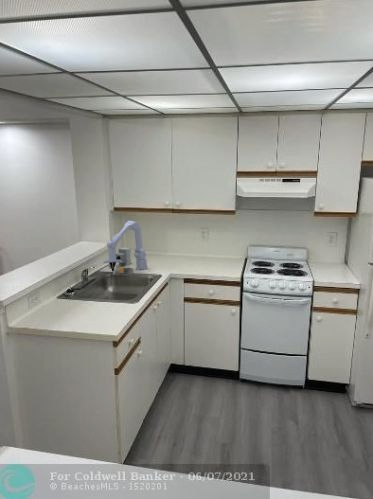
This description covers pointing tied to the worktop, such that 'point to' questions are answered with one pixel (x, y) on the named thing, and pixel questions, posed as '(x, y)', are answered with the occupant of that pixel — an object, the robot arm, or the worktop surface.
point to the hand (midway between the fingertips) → (112, 271)
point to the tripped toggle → (121, 269)
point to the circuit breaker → (124, 256)
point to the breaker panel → (126, 271)
